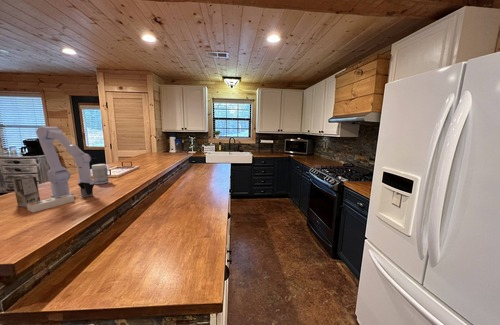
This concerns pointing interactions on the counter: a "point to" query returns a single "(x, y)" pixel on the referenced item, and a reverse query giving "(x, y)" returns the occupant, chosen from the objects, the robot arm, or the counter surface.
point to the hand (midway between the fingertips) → (87, 193)
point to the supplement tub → (100, 173)
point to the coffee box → (26, 190)
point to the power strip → (50, 203)
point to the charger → (85, 193)
